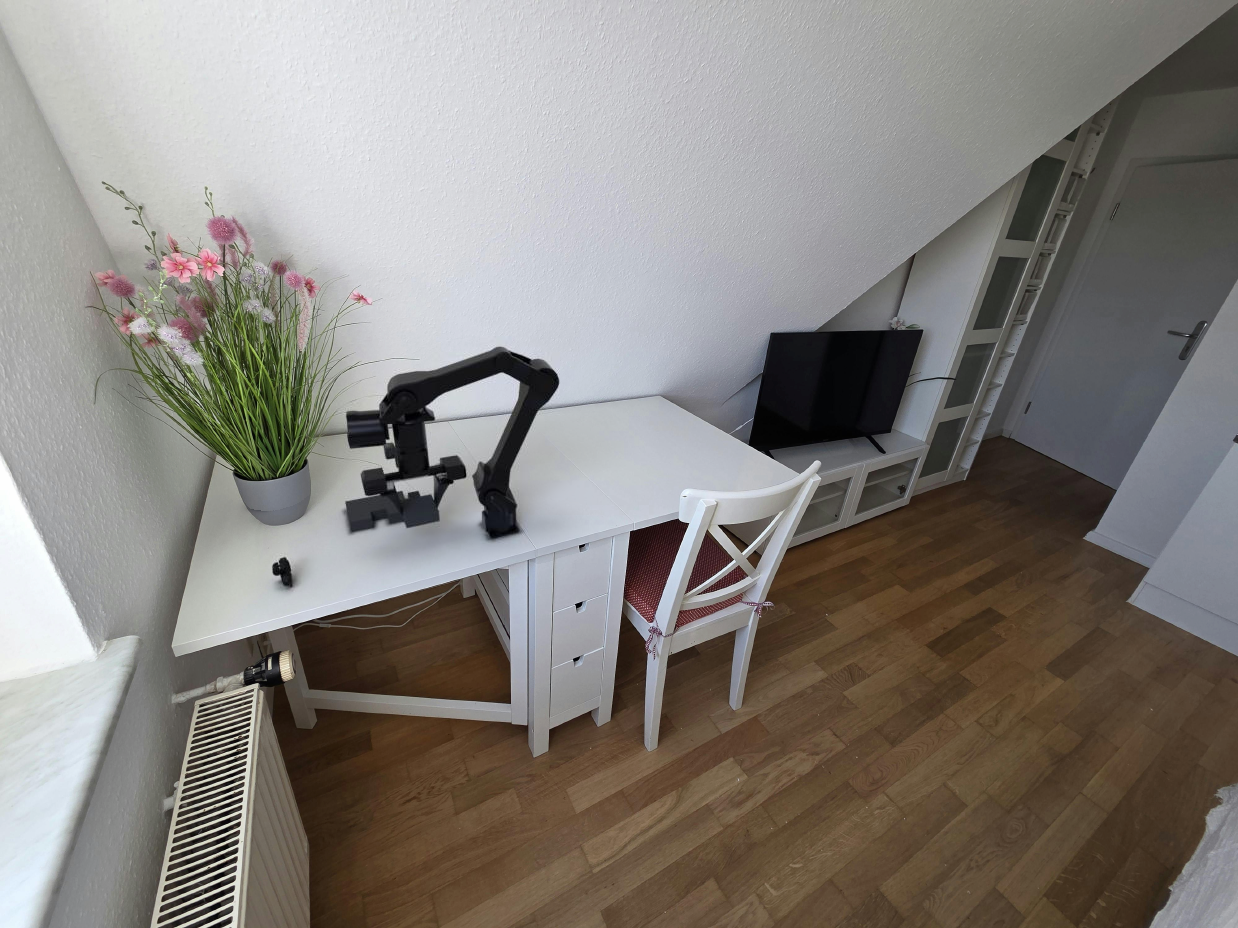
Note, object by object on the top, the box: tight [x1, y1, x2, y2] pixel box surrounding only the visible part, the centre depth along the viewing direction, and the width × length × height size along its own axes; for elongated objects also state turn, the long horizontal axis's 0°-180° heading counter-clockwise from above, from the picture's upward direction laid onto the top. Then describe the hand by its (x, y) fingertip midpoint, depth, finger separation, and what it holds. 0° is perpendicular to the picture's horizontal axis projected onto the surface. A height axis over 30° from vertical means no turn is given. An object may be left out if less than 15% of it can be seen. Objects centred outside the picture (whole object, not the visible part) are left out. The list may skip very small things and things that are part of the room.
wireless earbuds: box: [271, 556, 294, 588], centre depth 93 cm, size 7×2×5 cm, turn 32°
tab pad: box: [400, 490, 441, 529], centre depth 105 cm, size 6×9×2 cm
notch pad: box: [344, 490, 406, 533], centre depth 114 cm, size 12×9×2 cm
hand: (419, 510), depth 104 cm, fingers closed on tab pad, 6 cm apart
